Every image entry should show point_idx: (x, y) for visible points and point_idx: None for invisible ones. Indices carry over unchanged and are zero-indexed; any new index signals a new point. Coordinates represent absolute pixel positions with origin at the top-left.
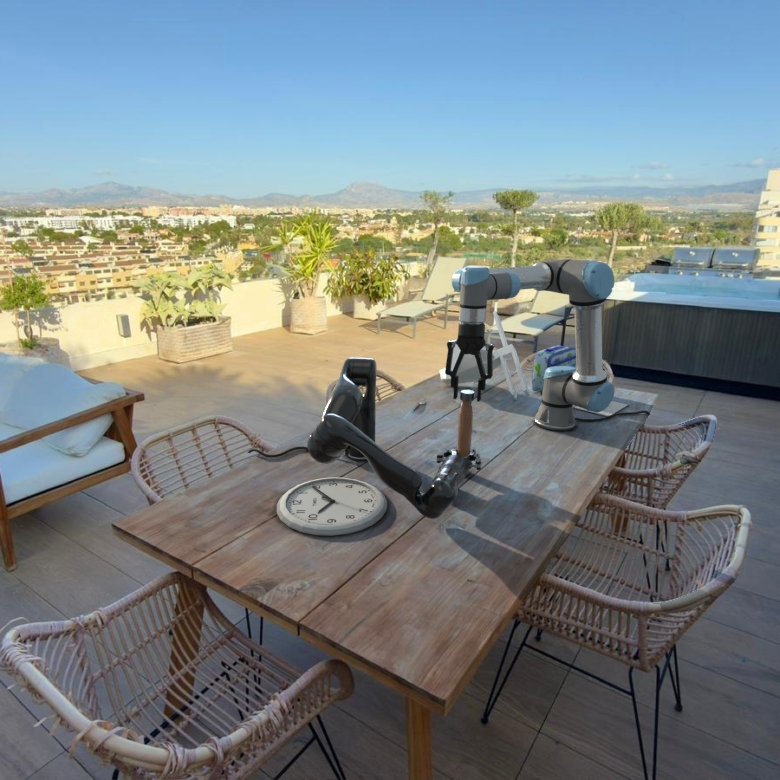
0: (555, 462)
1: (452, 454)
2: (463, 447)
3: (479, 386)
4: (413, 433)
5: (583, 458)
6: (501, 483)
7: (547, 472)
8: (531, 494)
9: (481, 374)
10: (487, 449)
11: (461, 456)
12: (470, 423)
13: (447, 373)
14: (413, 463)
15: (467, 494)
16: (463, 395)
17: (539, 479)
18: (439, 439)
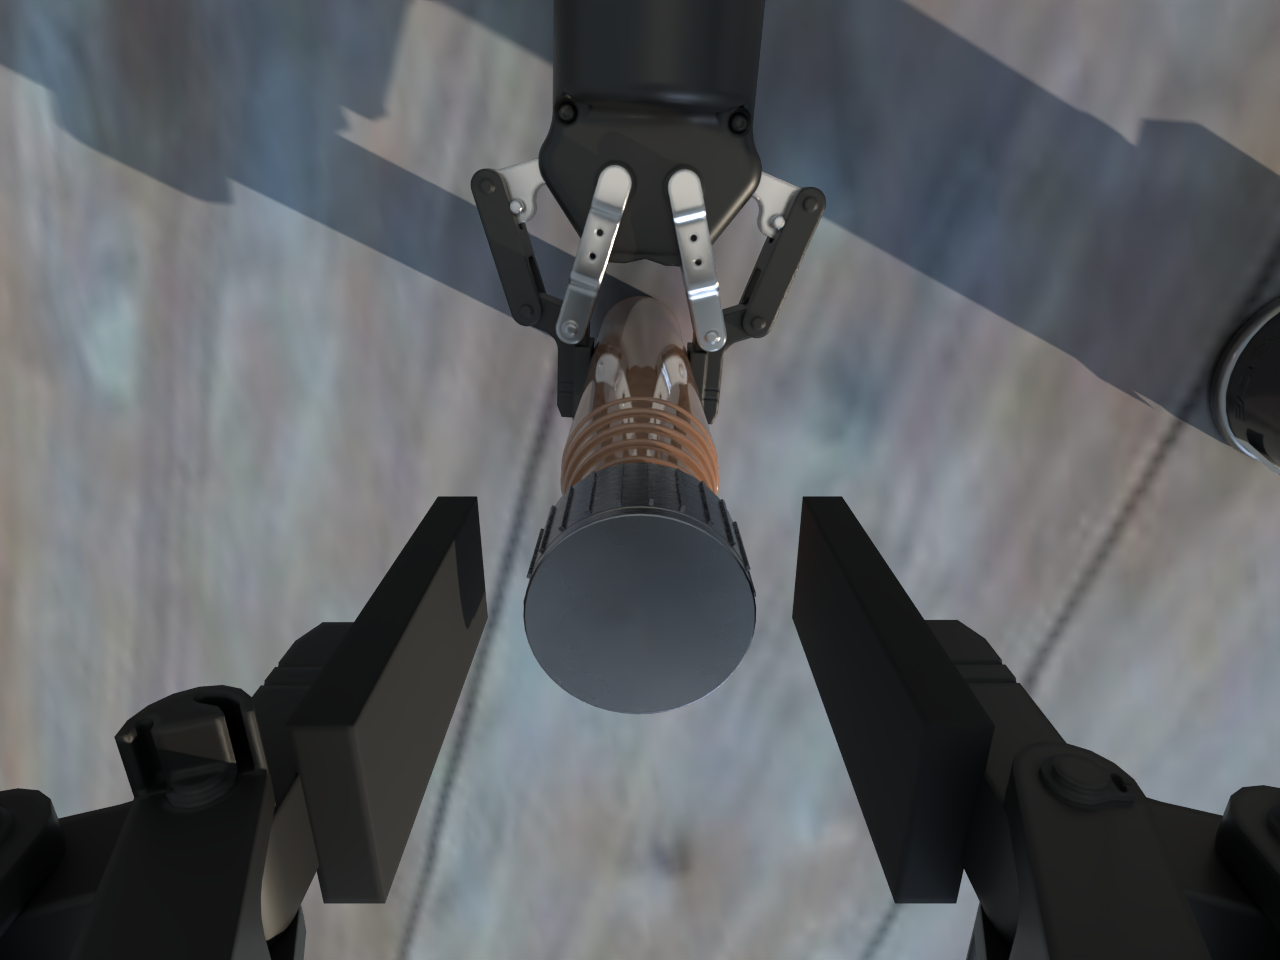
0: (178, 636)
1: (703, 205)
2: (635, 328)
3: (371, 634)
4: None
5: (60, 723)
6: (390, 276)
7: (184, 505)
8: (191, 188)
9: (192, 877)
10: None
11: (611, 83)
12: (581, 405)
13: (1277, 809)
14: (952, 367)
15: None
16: (689, 505)
17: (201, 403)
18: None
